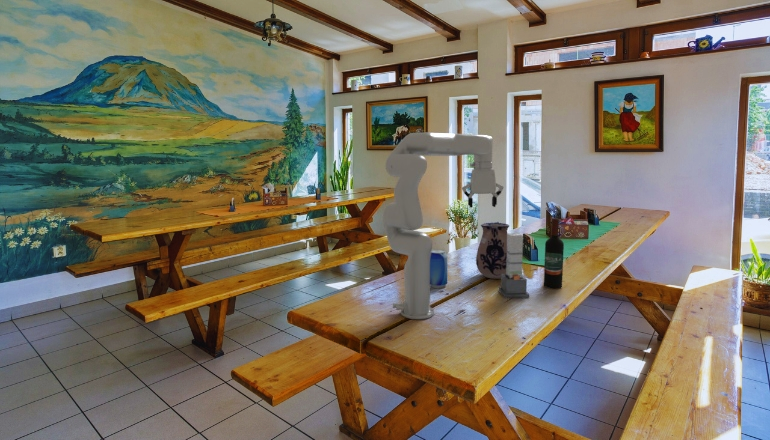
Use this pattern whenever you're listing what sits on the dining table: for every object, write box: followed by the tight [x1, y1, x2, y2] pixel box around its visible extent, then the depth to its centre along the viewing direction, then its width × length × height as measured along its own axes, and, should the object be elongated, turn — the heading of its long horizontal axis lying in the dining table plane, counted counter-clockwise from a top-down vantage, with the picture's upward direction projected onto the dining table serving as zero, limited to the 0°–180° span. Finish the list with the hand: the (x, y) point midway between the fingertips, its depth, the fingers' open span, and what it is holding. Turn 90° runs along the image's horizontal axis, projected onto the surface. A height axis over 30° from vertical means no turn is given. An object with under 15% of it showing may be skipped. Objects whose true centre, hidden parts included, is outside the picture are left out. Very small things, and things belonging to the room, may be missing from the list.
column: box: [506, 232, 524, 279], centre depth 191 cm, size 5×5×18 cm
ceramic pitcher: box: [475, 221, 510, 280], centre depth 218 cm, size 18×21×25 cm
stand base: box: [498, 274, 530, 299], centre depth 193 cm, size 10×10×9 cm
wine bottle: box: [543, 217, 565, 290], centre depth 200 cm, size 8×8×30 cm
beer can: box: [430, 248, 448, 289], centre depth 206 cm, size 8×8×16 cm
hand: (482, 206), depth 194 cm, fingers open, 9 cm apart
